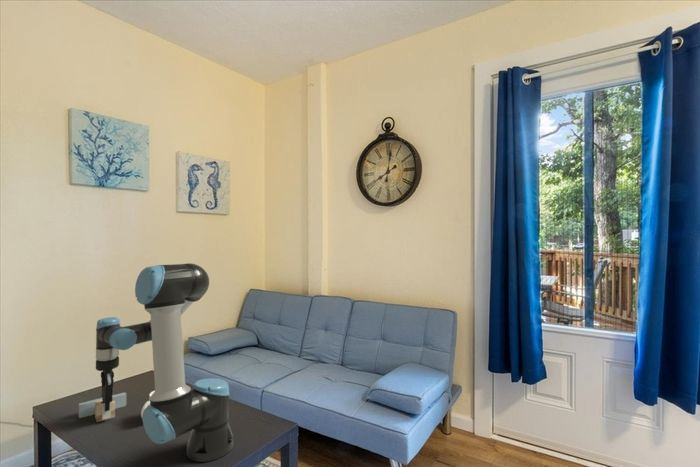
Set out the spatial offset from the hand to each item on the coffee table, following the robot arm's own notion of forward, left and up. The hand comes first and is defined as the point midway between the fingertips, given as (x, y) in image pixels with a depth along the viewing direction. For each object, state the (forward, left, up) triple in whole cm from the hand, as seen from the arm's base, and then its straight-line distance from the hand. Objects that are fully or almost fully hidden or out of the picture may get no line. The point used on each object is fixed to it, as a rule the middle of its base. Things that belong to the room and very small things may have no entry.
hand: (106, 417), depth 137 cm
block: (+5, 0, -2) cm, 5 cm away
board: (+11, 0, -2) cm, 11 cm away
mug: (-11, -15, -2) cm, 19 cm away
